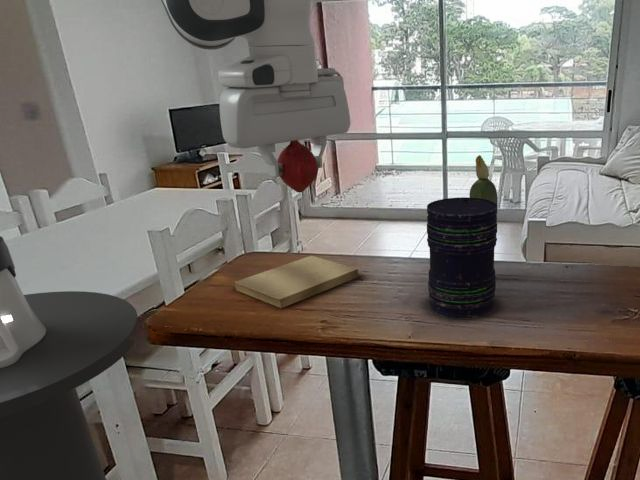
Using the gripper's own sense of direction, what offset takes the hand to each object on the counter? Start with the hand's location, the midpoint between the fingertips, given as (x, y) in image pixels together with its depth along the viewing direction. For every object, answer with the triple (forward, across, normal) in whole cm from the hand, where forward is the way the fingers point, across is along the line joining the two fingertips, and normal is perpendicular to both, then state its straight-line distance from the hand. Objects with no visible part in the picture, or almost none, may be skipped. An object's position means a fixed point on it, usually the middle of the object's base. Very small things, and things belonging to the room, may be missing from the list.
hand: (296, 172), depth 84 cm
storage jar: (+19, -10, +23) cm, 31 cm away
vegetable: (+19, -21, +19) cm, 34 cm away
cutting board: (+19, -1, -4) cm, 19 cm away
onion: (+3, 0, 0) cm, 3 cm away
